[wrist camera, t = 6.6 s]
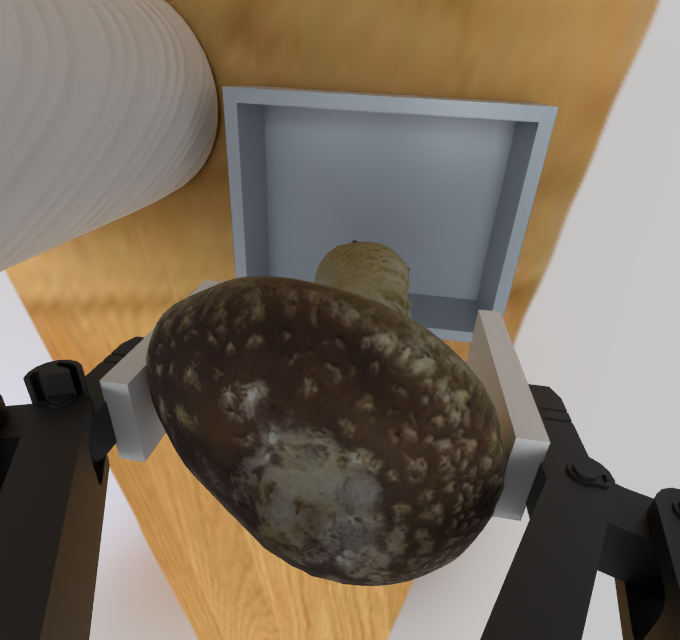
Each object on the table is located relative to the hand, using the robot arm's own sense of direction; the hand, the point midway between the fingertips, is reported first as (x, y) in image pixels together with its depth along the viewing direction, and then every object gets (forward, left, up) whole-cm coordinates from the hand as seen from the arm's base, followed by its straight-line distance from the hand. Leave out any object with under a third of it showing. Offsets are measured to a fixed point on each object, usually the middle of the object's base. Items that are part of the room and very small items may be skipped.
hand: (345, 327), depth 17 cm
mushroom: (0, 0, -7) cm, 7 cm away
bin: (0, 0, -19) cm, 19 cm away
